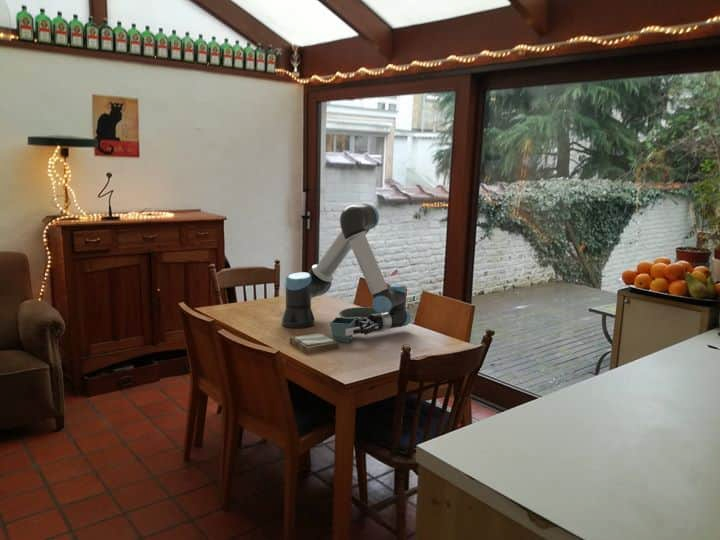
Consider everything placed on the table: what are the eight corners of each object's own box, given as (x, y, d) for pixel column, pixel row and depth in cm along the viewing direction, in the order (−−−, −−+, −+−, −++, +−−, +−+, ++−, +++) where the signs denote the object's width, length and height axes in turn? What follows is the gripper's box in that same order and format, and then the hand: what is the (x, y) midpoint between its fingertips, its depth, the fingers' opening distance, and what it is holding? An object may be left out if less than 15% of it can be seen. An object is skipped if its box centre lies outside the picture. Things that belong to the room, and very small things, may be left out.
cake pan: (345, 331, 266) (345, 321, 266) (333, 317, 290) (333, 308, 289) (397, 328, 273) (397, 319, 272) (381, 314, 296) (381, 306, 295)
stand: (290, 343, 247) (290, 336, 247) (319, 338, 255) (319, 331, 254) (307, 353, 234) (307, 346, 234) (338, 348, 242) (338, 341, 241)
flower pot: (330, 342, 249) (330, 322, 247) (335, 337, 257) (336, 316, 256) (350, 344, 247) (350, 324, 245) (355, 338, 255) (355, 318, 254)
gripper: (395, 337, 251) (353, 344, 240) (363, 323, 272) (322, 329, 260) (396, 320, 250) (353, 327, 238) (363, 307, 270) (323, 312, 259)
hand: (337, 328), depth 249 cm, fingers open, 13 cm apart
